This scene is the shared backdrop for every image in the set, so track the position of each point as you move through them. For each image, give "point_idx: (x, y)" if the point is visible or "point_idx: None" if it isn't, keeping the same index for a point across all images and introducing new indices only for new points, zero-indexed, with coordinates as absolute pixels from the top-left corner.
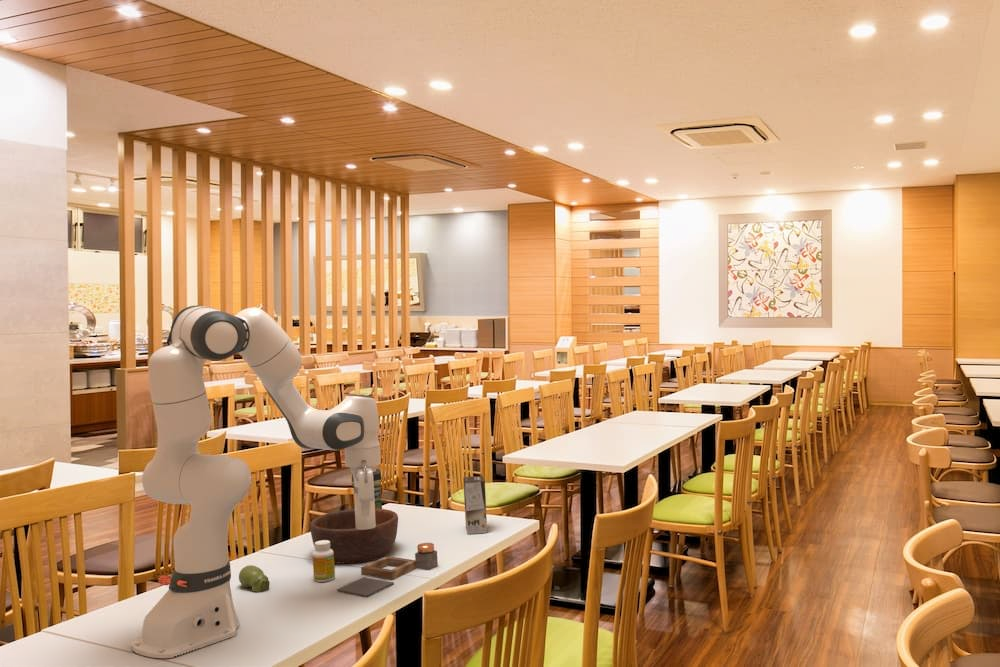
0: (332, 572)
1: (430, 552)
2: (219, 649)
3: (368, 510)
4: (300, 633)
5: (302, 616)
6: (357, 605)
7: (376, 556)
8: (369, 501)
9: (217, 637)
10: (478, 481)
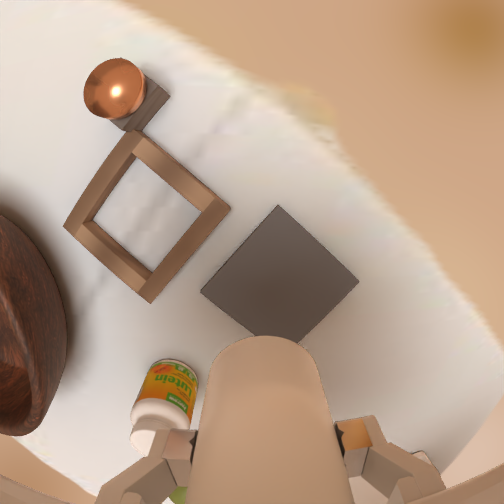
0: (181, 373)
1: None
2: (449, 449)
3: (380, 439)
4: (466, 376)
5: (401, 392)
6: (397, 299)
7: (40, 254)
8: (436, 476)
9: (430, 463)
10: None
